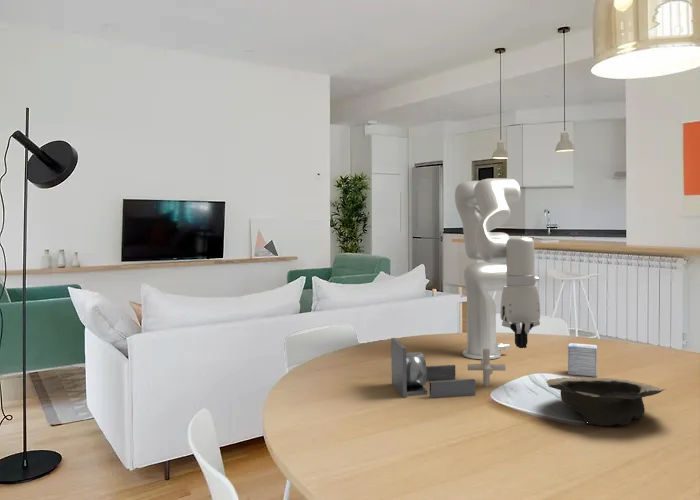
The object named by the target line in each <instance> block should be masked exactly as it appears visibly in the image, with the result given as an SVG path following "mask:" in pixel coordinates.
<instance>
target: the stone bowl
mask: <svg viewBox="0 0 700 500" xmlns="http://www.w3.org/2000/svg"><path fill="white" fill-rule="evenodd" d="M546 384H547V387H549V388H553V389H556V390H558V391H560V398H561V401H562V402H563V404H565V406H567V407H570V409H571V410H572V411H573V412H576V413H579V414H581V415H582V419H583V421H584V423H585V422H588V423H586V424H587V425H590V426H591V425H593V426H594V425H597V426H600V427H601V426H602V427H603V426H606V427H609V426H615V425H621V426H623V425H626V424H630V423H631V422H632V420H640V419H642V418H643V417H644V414H645V410H646V409H645V404H644V399H643V398H645V397H651V396H654V395H657V394H660V393H662V392H663V391H665V390H666V388H665V389H664V388H663V389H661V388H660V387H657V386H653V385H651V384H647V383H645V382H644V383H642V382H639V381H635V380H634V381H632V380H628V379H620V378H619V379H618V378H611V377H610V378H609V377H607V378H606V377H592V376H579V377H578V376H577V377H576V376H575V377H572V376H570V377H560V378H559V377H558V378H553V379H552V378H550V379H547V380H546Z"/></svg>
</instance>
